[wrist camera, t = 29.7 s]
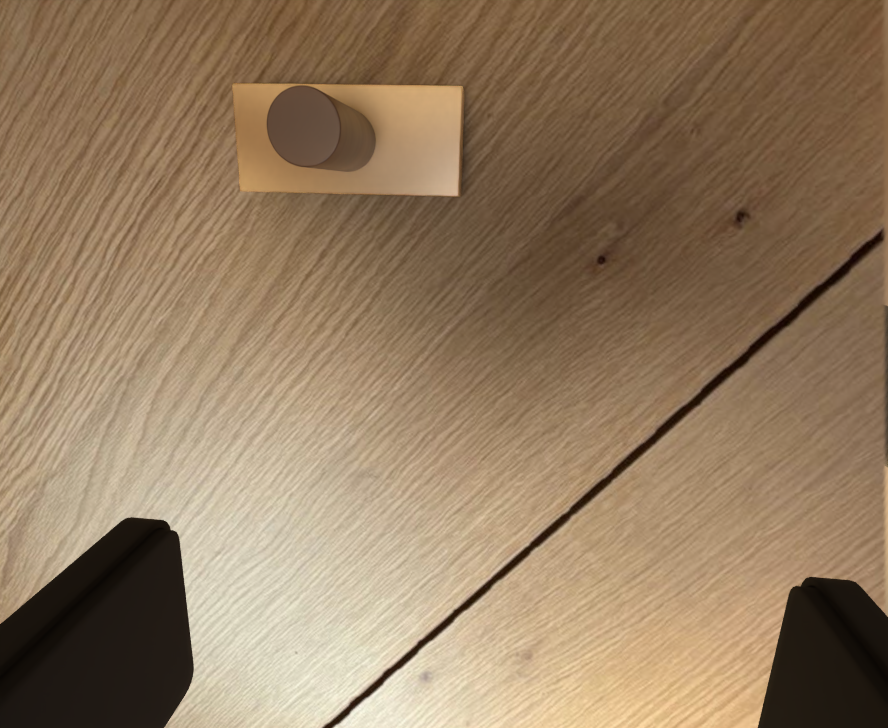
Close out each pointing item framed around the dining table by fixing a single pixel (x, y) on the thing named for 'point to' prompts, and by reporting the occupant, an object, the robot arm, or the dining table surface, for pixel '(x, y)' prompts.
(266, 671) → the dining table surface
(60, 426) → the dining table surface
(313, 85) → the peg on base plate
